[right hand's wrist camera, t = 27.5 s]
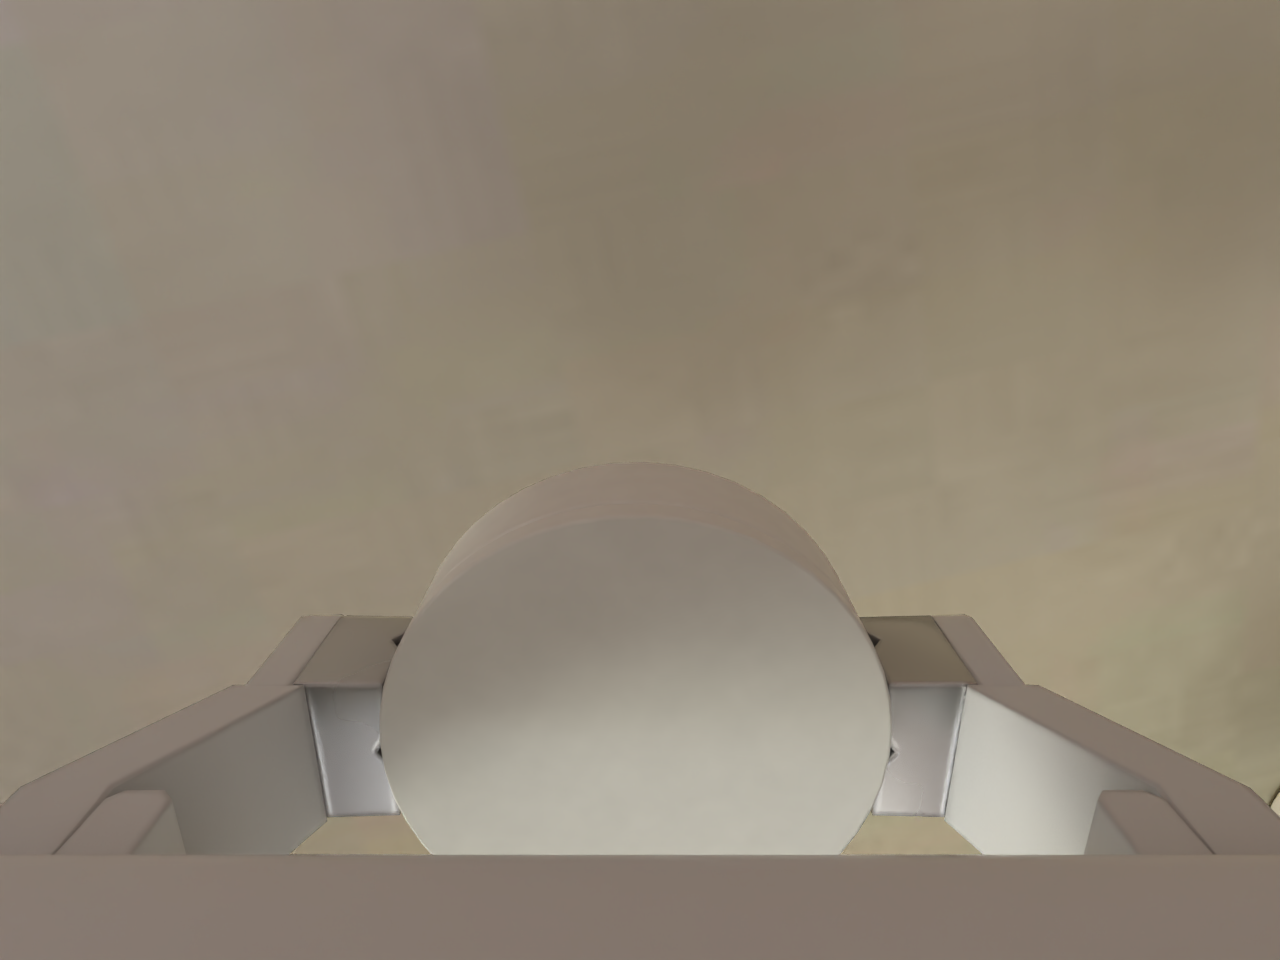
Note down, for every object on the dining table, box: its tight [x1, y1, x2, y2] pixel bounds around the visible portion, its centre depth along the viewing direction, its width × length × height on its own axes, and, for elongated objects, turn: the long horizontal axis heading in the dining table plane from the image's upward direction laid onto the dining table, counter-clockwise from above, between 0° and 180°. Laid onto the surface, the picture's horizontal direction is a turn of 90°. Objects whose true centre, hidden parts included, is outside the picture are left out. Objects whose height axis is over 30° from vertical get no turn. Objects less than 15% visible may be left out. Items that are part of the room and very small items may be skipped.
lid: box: [379, 462, 892, 855], centre depth 9 cm, size 6×6×2 cm
